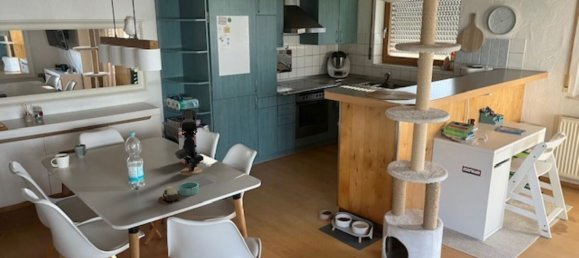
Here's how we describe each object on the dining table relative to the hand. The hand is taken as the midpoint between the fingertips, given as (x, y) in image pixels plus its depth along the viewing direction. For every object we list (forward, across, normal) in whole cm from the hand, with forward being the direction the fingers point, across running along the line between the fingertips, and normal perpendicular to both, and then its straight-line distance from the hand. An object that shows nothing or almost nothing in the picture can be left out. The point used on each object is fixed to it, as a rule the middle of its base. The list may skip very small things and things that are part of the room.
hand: (191, 170), depth 246 cm
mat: (+12, -7, +10) cm, 17 cm away
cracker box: (+11, -42, +22) cm, 49 cm away
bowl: (+12, +1, -2) cm, 13 cm away
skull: (+13, +3, -16) cm, 20 cm away
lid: (+1, 0, 0) cm, 1 cm away
